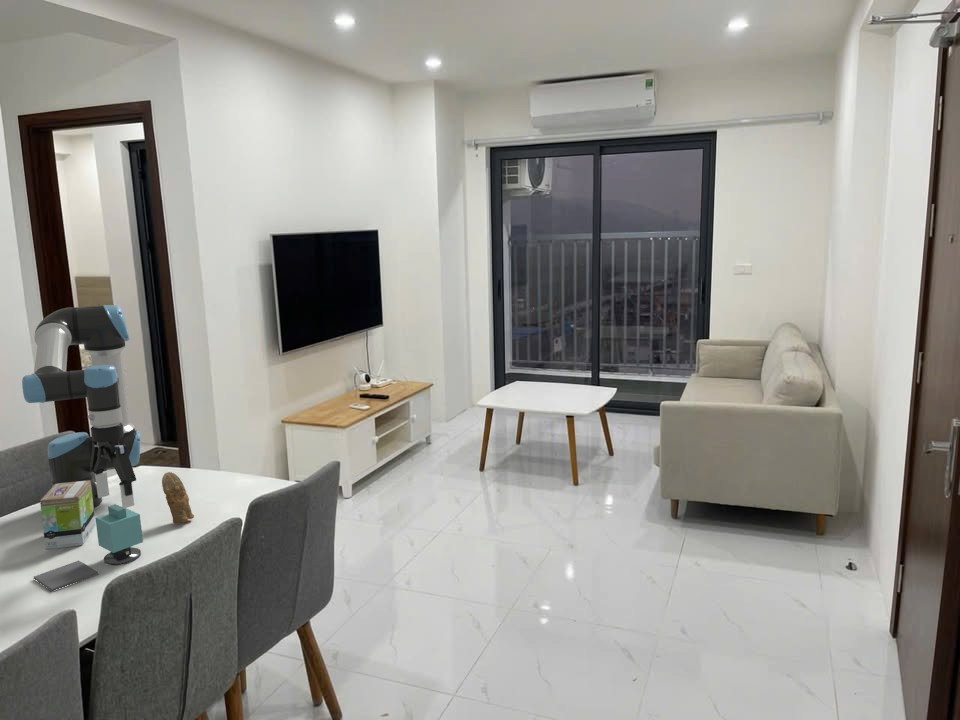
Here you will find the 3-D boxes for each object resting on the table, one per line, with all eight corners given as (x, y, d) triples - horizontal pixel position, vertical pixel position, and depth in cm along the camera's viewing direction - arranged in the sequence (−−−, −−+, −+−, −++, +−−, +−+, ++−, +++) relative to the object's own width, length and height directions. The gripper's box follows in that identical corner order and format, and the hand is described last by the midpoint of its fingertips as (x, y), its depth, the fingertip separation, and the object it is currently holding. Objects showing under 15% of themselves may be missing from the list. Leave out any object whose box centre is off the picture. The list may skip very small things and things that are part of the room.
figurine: (185, 526, 211) (180, 478, 209) (161, 525, 213) (156, 477, 210) (201, 515, 219) (197, 469, 217) (178, 514, 221) (173, 468, 218)
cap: (98, 545, 190) (94, 509, 188) (128, 535, 196) (124, 499, 194) (113, 553, 185) (108, 515, 183) (143, 542, 192) (138, 505, 190)
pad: (33, 579, 180) (33, 576, 180) (78, 563, 189) (78, 560, 189) (52, 591, 174) (52, 588, 173) (98, 574, 182) (98, 571, 182)
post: (97, 559, 191) (93, 528, 189) (130, 547, 198) (127, 517, 196) (114, 568, 185) (110, 536, 184) (147, 555, 192) (143, 524, 191)
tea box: (84, 545, 200) (78, 496, 197) (44, 550, 197) (37, 500, 194) (96, 525, 214) (90, 478, 211) (59, 529, 211) (53, 482, 209)
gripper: (70, 421, 189) (79, 496, 193) (115, 434, 174) (124, 515, 178) (98, 415, 195) (107, 488, 199) (144, 427, 180) (153, 506, 184)
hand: (115, 501), depth 188 cm, fingers open, 13 cm apart
